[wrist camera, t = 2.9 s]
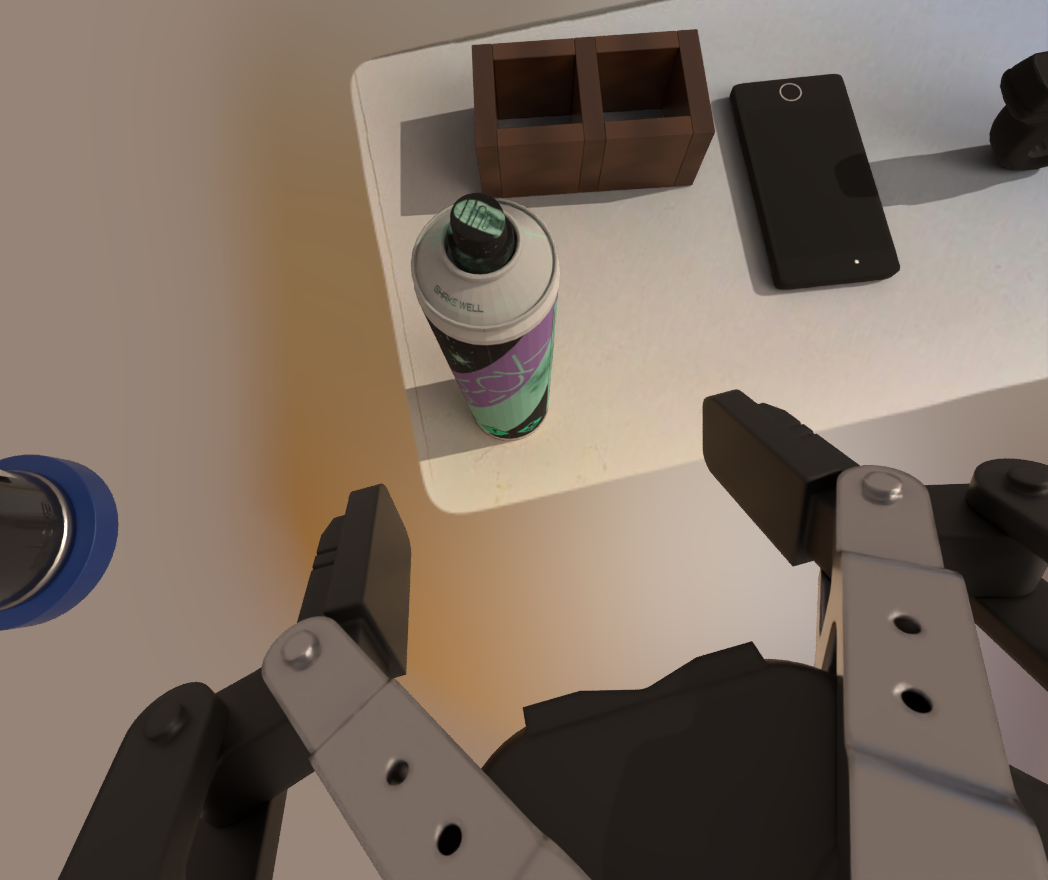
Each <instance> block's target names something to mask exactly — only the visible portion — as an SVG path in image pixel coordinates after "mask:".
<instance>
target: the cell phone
mask: <svg viewBox="0 0 1048 880" xmlns="http://www.w3.org/2000/svg"><path fill="white" fill-rule="evenodd" d="M730 100H731V103H732V107H733V112H734V116H735V120H736V124H737V128H738V132H739V137H740V141H741V145H742V149H743V153H744V157H745V162H746V166H747V170H748V174H749V178H750V182H751V186H752V191H753V195H754V199H755V203H756V207H757V211H758V216H759V220H760V224H761V228H762V232H763V236H764V241H765V245H766V249H767V253H768V257H769V261H770V266H771V270H772V275H773V280H774V284H775V286H776V287H777V288H778V289H782V290H789V289H798V288H808V287H817V286H827V285H836V284H846V283H855V282H865V281H874V280H883V279H888V278H890V277H892V276H893V275H894V274H896V273H897V272H898V271H899V270H900V264H899V261H898V257H897V254H896V250H895V247H894V244H893V240H892V237H891V234H890V231H889V227H888V224H887V221H886V218H885V214H884V211H883V208H882V205H881V201H880V198H879V195H878V191H877V188H876V185H875V182H874V178H873V175H872V172H871V169H870V165H869V162H868V159H867V156H866V152H865V149H864V146H863V143H862V139H861V136H860V133H859V130H858V126H857V123H856V120H855V116H854V113H853V110H852V107H851V103H850V100H849V97H848V94H847V90H846V87H845V84H844V81H843V78H842V76H841V75H839V74H827V75H817V76H808V77H799V78H789V79H780V80H770V81H761V82H751V83H742V84H738V85H735V86H734V87H733V88H732V91H731V93H730Z"/></svg>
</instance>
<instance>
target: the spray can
mask: <svg viewBox="0 0 1048 880" xmlns="http://www.w3.org/2000/svg"><path fill="white" fill-rule="evenodd" d="M411 272H412V278H413V282H414V289H415V292H416V295H417V299H418V301H419V304H420V306H421V308H422V310H423V312H424V314H425V316H426V318H427V320H428V322H429V324H430V327H431V329H432V331H433V333H434V335H435V337H436V339H437V341H438V343H439V345H440V347H441V349H442V352H443V354H444V356H445V358H446V360H447V362H448V364H449V366H450V368H451V370H452V372H453V375H454V377H455V379H456V381H457V383H458V385H459V387H460V389H461V391H462V393H463V395H464V397H465V400H466V402H467V404H468V406H469V408H470V410H471V412H472V414H473V416H474V418H475V420H476V422H477V424H478V425H479V426H480V427H481V428H482V430H483V431H485V432H486V433H487V434H489V435H490V436H492V437H494V438H497V439H500V440H507V441H513V440H519V439H522V438H525V437H527V436H529V435H531V434H532V433H534V432H535V431H536V430H537V429H538V428H539V427H540V426H541V424H542V423H543V421H544V419H545V417H546V414H547V410H548V404H549V392H550V381H551V369H552V358H553V346H554V335H555V323H556V312H557V300H558V289H559V276H560V269H559V262H558V256H557V249H556V244H555V242H554V239H553V236H552V234H551V232H550V231H549V229H548V228H547V226H546V225H545V223H544V222H543V221H542V220H541V219H540V218H539V217H538V216H537V215H536V214H535V213H533V212H532V211H530V210H529V209H527V208H526V207H525V206H522V205H520V204H518V203H515V202H513V201H510V200H506V199H502V198H494V197H492V196H490V195H488V194H484V193H471V194H467V195H465V196H463V197H461V198H460V199H458V200H457V201H456V202H455V203H454V204H453V205H451V206H449V207H447V208H445V209H444V210H442V211H441V212H439V213H438V214H437V215H435V216H434V217H433V218H432V219H431V220H430V221H429V222H428V223H427V224H426V225H425V226H424V228H423V230H422V231H421V233H420V234H419V236H418V238H417V240H416V243H415V245H414V248H413V252H412V259H411Z"/></svg>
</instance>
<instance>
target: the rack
mask: <svg viewBox="0 0 1048 880" xmlns="http://www.w3.org/2000/svg"><path fill="white" fill-rule="evenodd" d="M472 65H473V89H474V113H475V137H476V152H477V158H478V165H479V172H480V178H481V185H482V192H483V193H484V194H488V195H490V196H492V197H494V198H502V197H503V198H505V197H521V196H536V195H551V194H566V193H578V192H595V191H610V190H625V189H640V188H655V187H670V186H686V185H692V184H693V182H694V180H695V177H696V175H697V173H698V170H699V168H700V166H701V163H702V161H703V159H704V156H705V154H706V152H707V149H708V147H709V145H710V142H711V140H712V138H713V136H714V133H715V129H714V123H713V117H712V111H711V105H710V100H709V94H708V88H707V82H706V76H705V71H704V65H703V59H702V53H701V47H700V42H699V36H698V30H697V29H694V30H679V31H666V32H652V33H638V34H624V35H609V36H595V38H594V37H581V38H569V39H555V40H540V41H526V42H512V43H498V44H481V45H472ZM655 108H662V111H663V118H651V119H636V120H622V121H607V122H604V117H603V112H611V111H626V110H641V109H655ZM566 114H571V121H572V124H562V125H547V126H532V127H518V128H503V129H499V125H498V119H507V118H522V117H536V116H551V115H566Z"/></svg>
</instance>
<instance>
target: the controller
mask: <svg viewBox="0 0 1048 880" xmlns="http://www.w3.org/2000/svg"><path fill="white" fill-rule="evenodd" d="M1000 88H1001V92H1002V95H1003V99H1004V102H1005V104H1006V105H1005V106H1004V108H1003V109H1002V110H1001V111H1000V113H999V114H998V115H997V117H996V119H995V120H994V122H993V124H992V127H991V130H990V144H991V147H992V149H993V152H994V154H995V156H996V158H997V160H998V162H999V163H1000V164H1001V165H1003V166H1004V167H1006V168H1009V169H1012V170H1032V169H1039V168H1043V167H1047V166H1048V51H1046V52H1040V53H1036V54H1034V55H1032V56H1030V57H1028V58H1027V59H1025V60H1023V61H1021V62H1020V63H1018V64H1017V65H1015V66H1013V67H1012V68H1011V69H1008V70H1007V71H1005V72H1004V74H1003V76H1002V78H1001V84H1000Z"/></svg>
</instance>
